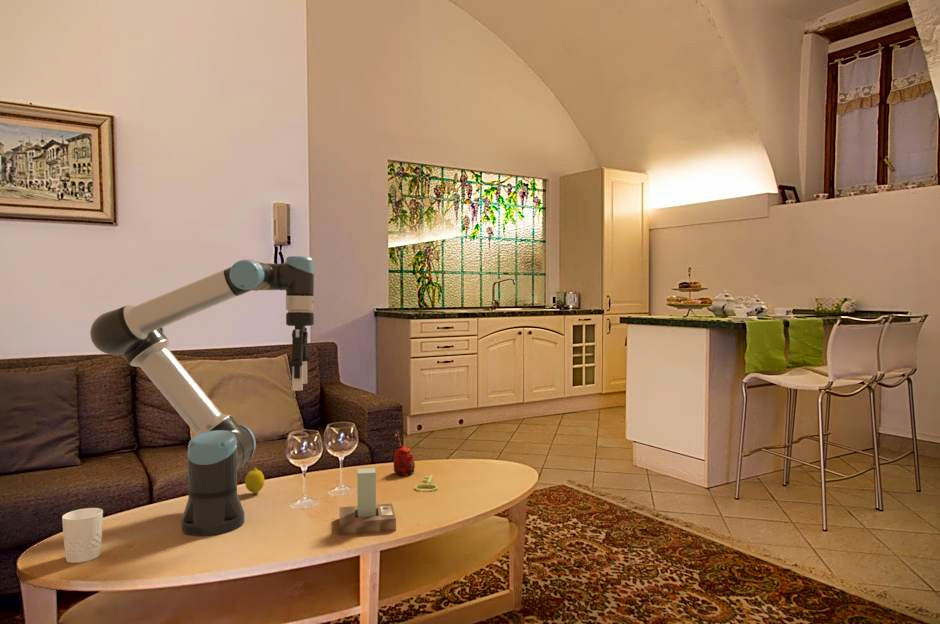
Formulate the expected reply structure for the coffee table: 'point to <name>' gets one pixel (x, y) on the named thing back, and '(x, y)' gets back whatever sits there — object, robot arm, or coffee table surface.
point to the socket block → (366, 520)
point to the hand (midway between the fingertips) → (299, 387)
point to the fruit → (254, 481)
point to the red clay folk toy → (403, 460)
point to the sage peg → (366, 492)
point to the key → (427, 485)
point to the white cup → (82, 534)
